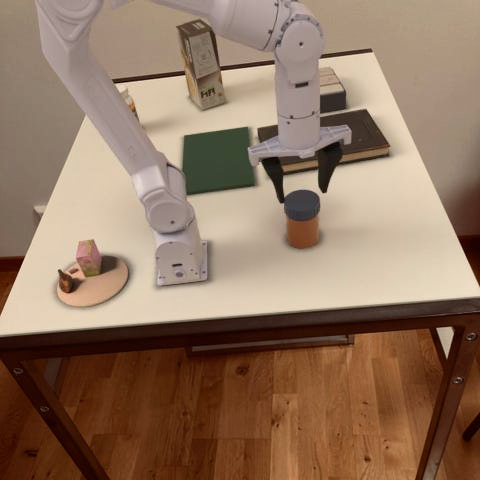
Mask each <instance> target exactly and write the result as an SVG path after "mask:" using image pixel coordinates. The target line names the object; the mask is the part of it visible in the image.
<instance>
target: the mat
mask: <svg viewBox="0 0 480 480" xmlns="http://www.w3.org/2000/svg"><path fill="white" fill-rule="evenodd" d="M249 133H250V132H249V126H241V127H235V128H228V129H220V130H213V131H206V132H199V133H193V134H185V135H183V150H182V168H181V170H182V172H183V173H184V175H185V179H186V194H187V196H188V195H195V194H202V193H203V194H204V193H209V192H218V191H219V192H220V191H225V190H234V189H239V188H240V189H241V188H249V187H254V186H255V178H254V169H253V166H252V165H251V163H250V160H249V154H248V147H251V142H250V134H249Z"/></svg>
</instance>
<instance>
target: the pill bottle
mask: <svg viewBox="0 0 480 480" xmlns="http://www.w3.org/2000/svg"><path fill="white" fill-rule="evenodd" d="M115 86H116V87H117V89H118V90H119V92H120V93H121V95H122V96H123V98H124V100H125V101H126V103H127V104H128V106H129V107H130V109H131V111H132V112H133V114H134V115H135V117H136V118H137V120H138V121H139V123H140V124H141V122H140V118H139V115H138V111H137V107H136V104H135V101H134V98H133V97H132V96H131V95H130V94H129V88H128V86H127V85H126V84H115Z"/></svg>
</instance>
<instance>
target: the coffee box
mask: <svg viewBox="0 0 480 480" xmlns="http://www.w3.org/2000/svg"><path fill="white" fill-rule="evenodd" d="M175 31H176V36H177V41H178V47H179V51H180V56H181V61H182V65H183V70H184V74H185V80H186V85H187V90H188V95H189V98H190V99H191V100H192V101H193V102H194V103H195V104H196V105H197V107H199V109H200V110H202V111H204V110H207V109H210V108H214V107H217V106H219V105H222V104H225V103H226V97H225V96H226V95H225V90H224V89H225V88H224V83H223V76H222V70H221V63H220V55H219V49H218V44H217V35H215V33H214V32H213V30H212V27H211V25H210V24H207V22H205V21H203V20H202V19H201V18H198V19H193V20H191V21H187V22H184V23H182V24H179V25H176V26H175Z"/></svg>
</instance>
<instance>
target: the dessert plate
mask: <svg viewBox="0 0 480 480" xmlns="http://www.w3.org/2000/svg"><path fill="white" fill-rule="evenodd" d="M75 259H76V261H77V262H76V263H74V264H73V265H71V266H70V267H68V268H67V270H65V271H63V270H62V269H61V268H59V269H57V273H58V277H59V278H58V283H57V286H56V290H57V291H56V293H57V296H58V298H59V300H60V301H62V302H63V303H65V304H66V305H68V306H71V307H77V308H89V307H94V306H98V305H100V304H102V303H106V302H107V301H110V300H111V299H113V298H114V297H116V296H117V295H118V294H120V292H122V290H123V289H124V287H125V286H126V285H127V283H128V281H129V278H130V268H129V267H128V265H127V263H126V262H125V261H124V260H122V259H121V258H119V257H117V256H113V255H107V254H105V255H104V254H102V255H101V253H100V251H99V248H98V246H97V243H96V241H95V239H86V240H85V239H84V240H79V241H78V245H77V250H76V254H75Z"/></svg>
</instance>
